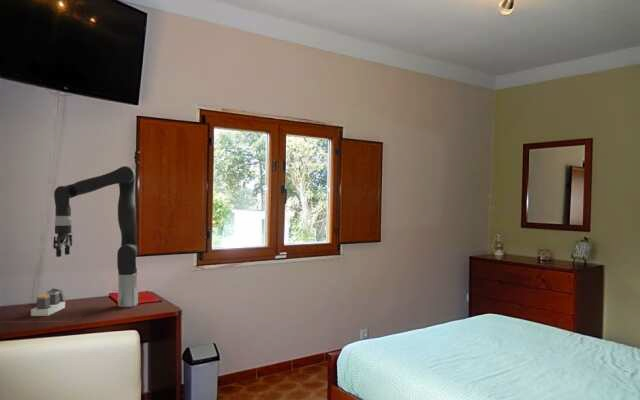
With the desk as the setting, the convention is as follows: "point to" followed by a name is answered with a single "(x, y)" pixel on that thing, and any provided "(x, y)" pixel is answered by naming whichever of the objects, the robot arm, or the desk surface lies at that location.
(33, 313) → the power strip
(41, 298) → the plug
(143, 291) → the desk surface
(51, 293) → the twin plug
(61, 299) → the electrical switch
